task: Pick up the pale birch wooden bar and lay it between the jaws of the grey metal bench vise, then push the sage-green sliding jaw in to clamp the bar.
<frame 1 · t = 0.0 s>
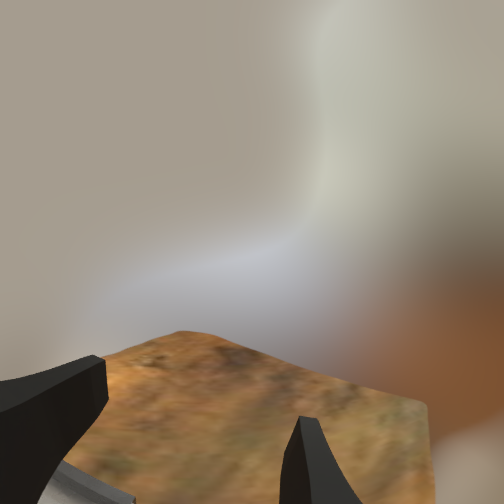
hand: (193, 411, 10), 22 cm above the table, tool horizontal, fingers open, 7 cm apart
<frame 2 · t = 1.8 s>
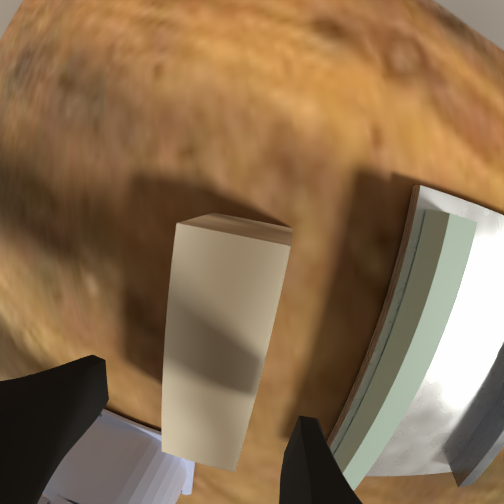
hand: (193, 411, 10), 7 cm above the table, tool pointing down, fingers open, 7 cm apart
wood bar: (232, 328, 17), on the table
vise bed: (454, 367, 15), on the table
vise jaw: (394, 383, 13), point 2 cm above the table, slide at 0.0 cm
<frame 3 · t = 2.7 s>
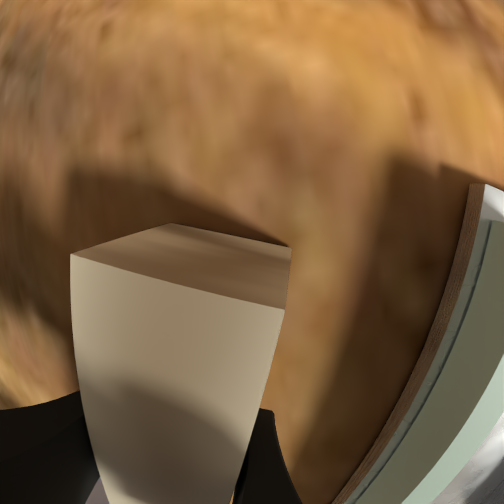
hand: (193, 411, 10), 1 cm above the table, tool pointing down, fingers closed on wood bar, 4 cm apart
wood bar: (204, 386, 11), on the table, touching gripper
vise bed: (493, 420, 9), on the table
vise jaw: (426, 460, 8), point 2 cm above the table, slide at 0.0 cm
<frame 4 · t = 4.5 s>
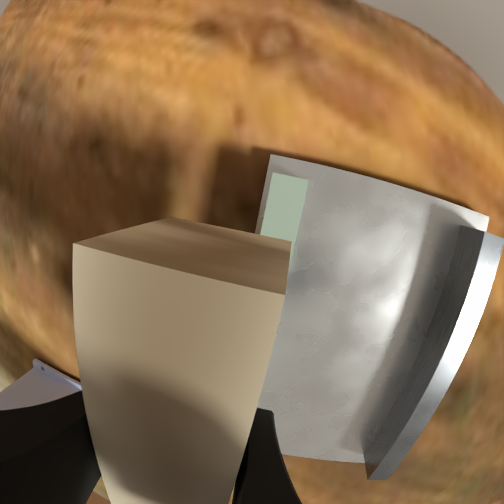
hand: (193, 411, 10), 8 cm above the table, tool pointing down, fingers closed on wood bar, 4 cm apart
wood bar: (205, 381, 11), point 7 cm above the table, touching gripper
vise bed: (345, 344, 17), on the table
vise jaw: (254, 345, 15), point 2 cm above the table, slide at 0.0 cm
when the fingers open (5 cm above the table, at t = 6.1 s): wood bar drops 2 cm, resting on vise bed.
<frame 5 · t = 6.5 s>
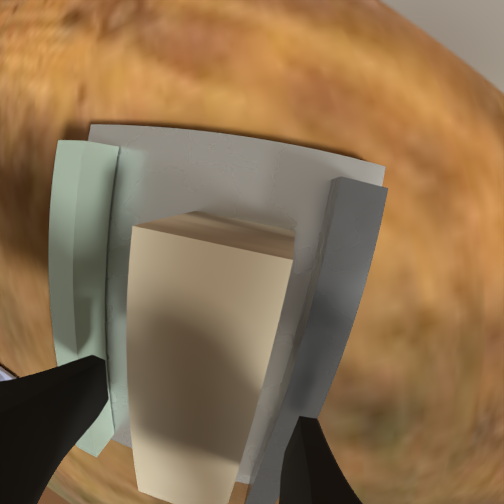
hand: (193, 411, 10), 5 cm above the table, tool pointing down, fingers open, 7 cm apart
wood bar: (220, 353, 13), point 1 cm above the table, touching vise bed
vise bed: (194, 340, 14), on the table
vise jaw: (79, 328, 13), point 2 cm above the table, slide at 0.0 cm
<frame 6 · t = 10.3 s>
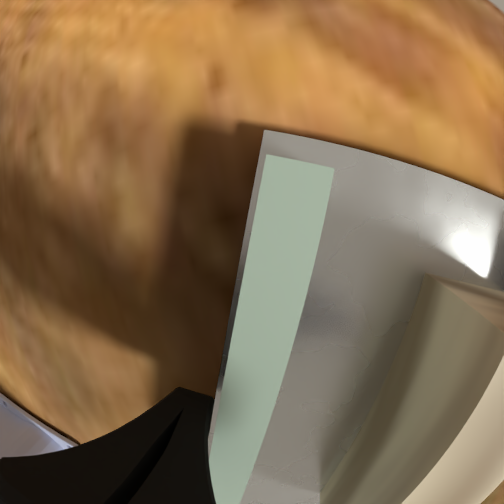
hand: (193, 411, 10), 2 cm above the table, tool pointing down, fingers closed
wood bar: (409, 418, 10), point 1 cm above the table, touching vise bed
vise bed: (371, 406, 11), on the table
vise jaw: (241, 424, 9), point 2 cm above the table, slide at 0.0 cm, touching gripper
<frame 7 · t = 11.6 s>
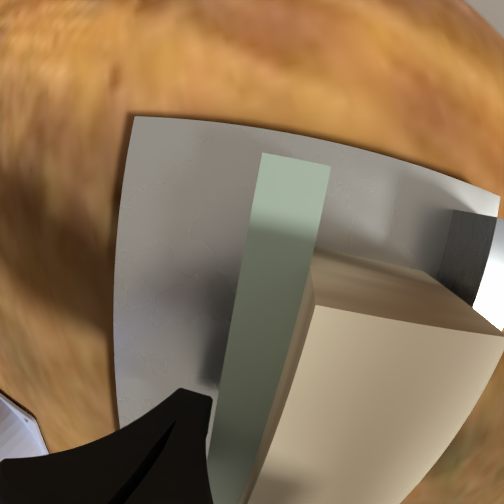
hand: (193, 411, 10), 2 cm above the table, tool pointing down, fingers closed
wood bar: (318, 409, 10), point 1 cm above the table, touching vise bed, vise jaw
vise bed: (270, 390, 12), on the table
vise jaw: (240, 423, 9), point 2 cm above the table, slide at 4.4 cm, touching gripper, wood bar
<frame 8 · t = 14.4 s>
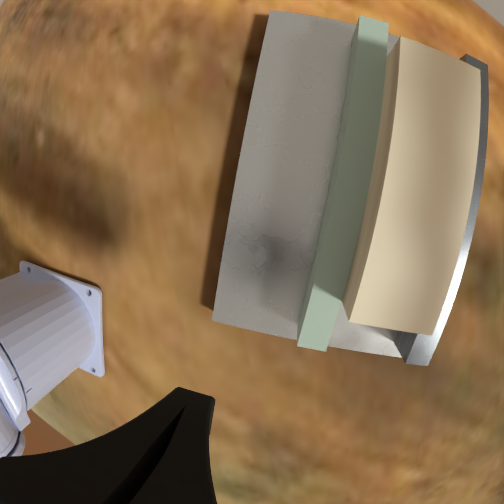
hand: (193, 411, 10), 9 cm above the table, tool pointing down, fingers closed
wood bar: (394, 185, 15), point 1 cm above the table, touching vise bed, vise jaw
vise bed: (356, 182, 16), on the table
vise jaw: (349, 176, 14), point 2 cm above the table, slide at 4.4 cm, touching wood bar
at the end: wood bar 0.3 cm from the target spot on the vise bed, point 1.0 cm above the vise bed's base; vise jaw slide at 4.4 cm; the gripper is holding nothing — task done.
